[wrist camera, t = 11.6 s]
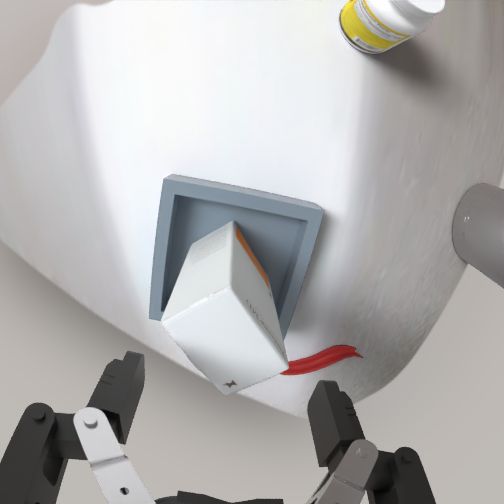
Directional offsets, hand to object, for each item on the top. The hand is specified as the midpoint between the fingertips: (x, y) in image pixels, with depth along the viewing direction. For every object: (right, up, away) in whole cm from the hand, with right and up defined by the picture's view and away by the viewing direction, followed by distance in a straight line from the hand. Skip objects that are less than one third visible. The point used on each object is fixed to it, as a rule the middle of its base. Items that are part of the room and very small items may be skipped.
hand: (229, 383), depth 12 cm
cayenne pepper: (+8, -6, +19) cm, 21 cm away
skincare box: (-1, +5, +13) cm, 14 cm away
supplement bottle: (+11, +25, +7) cm, 29 cm away
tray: (-1, +6, +14) cm, 15 cm away
